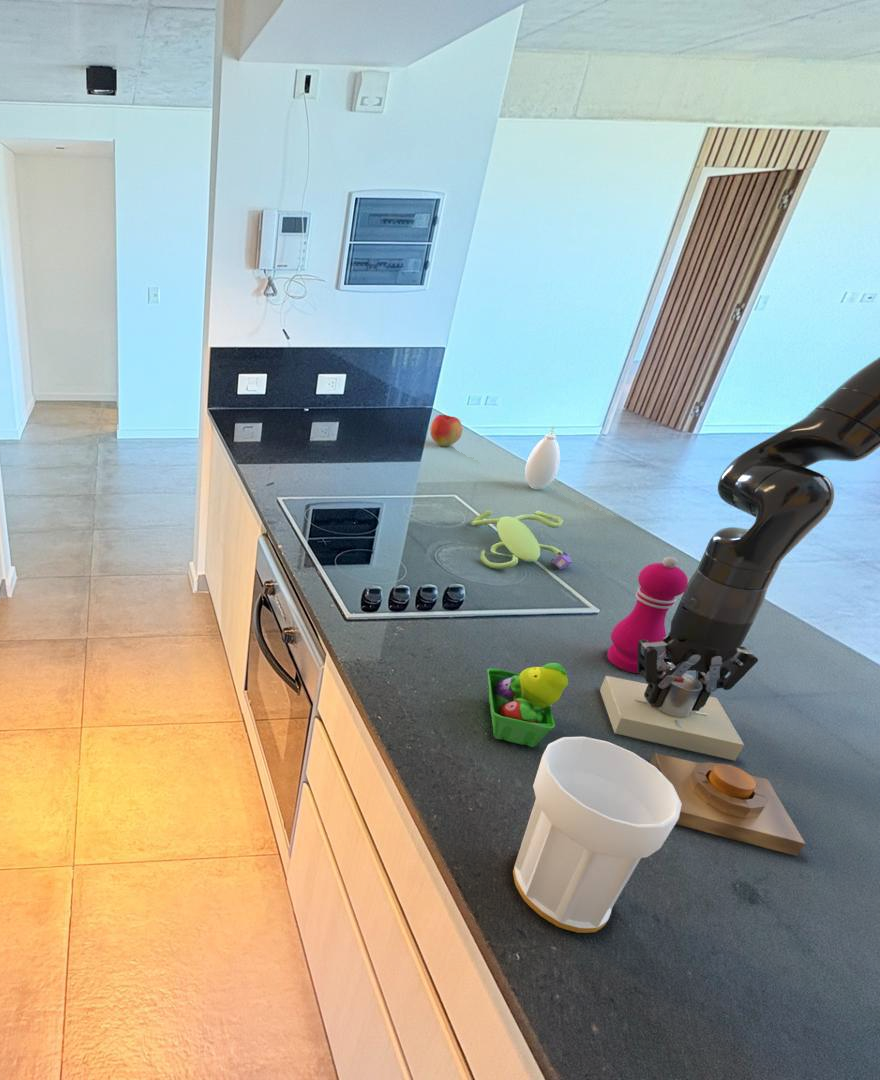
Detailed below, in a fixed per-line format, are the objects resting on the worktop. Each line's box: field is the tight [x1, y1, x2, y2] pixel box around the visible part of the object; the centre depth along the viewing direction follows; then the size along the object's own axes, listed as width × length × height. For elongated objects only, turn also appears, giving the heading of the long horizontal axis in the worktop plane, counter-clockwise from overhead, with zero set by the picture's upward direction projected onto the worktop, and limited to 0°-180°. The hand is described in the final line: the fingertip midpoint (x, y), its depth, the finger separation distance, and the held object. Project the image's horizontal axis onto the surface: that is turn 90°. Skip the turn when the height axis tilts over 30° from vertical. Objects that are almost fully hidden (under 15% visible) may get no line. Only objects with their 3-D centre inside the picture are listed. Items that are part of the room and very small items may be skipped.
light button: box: [708, 763, 756, 800], centre depth 75 cm, size 4×4×2 cm
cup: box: [512, 736, 682, 934], centre depth 64 cm, size 11×11×17 cm
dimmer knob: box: [656, 671, 703, 718], centre depth 88 cm, size 4×4×5 cm
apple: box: [429, 414, 463, 447], centre depth 205 cm, size 10×10×10 cm
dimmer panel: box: [599, 675, 745, 762], centre depth 89 cm, size 14×10×3 cm
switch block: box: [649, 752, 806, 857], centre depth 76 cm, size 12×10×4 cm
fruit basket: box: [486, 662, 569, 748], centre depth 88 cm, size 11×9×11 cm
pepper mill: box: [606, 556, 689, 674], centre depth 98 cm, size 7×7×20 cm
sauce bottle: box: [524, 425, 561, 491], centre depth 168 cm, size 8×8×18 cm
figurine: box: [470, 510, 573, 570], centre depth 139 cm, size 18×27×6 cm
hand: (671, 704), depth 89 cm, fingers closed on dimmer knob, 4 cm apart
